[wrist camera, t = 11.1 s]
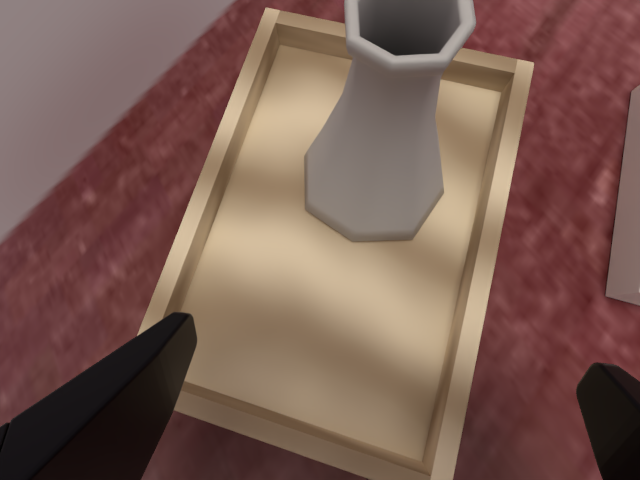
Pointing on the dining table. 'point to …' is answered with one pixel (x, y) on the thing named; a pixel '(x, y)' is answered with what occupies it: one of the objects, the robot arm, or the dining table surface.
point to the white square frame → (627, 216)
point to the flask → (386, 119)
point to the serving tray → (339, 267)
